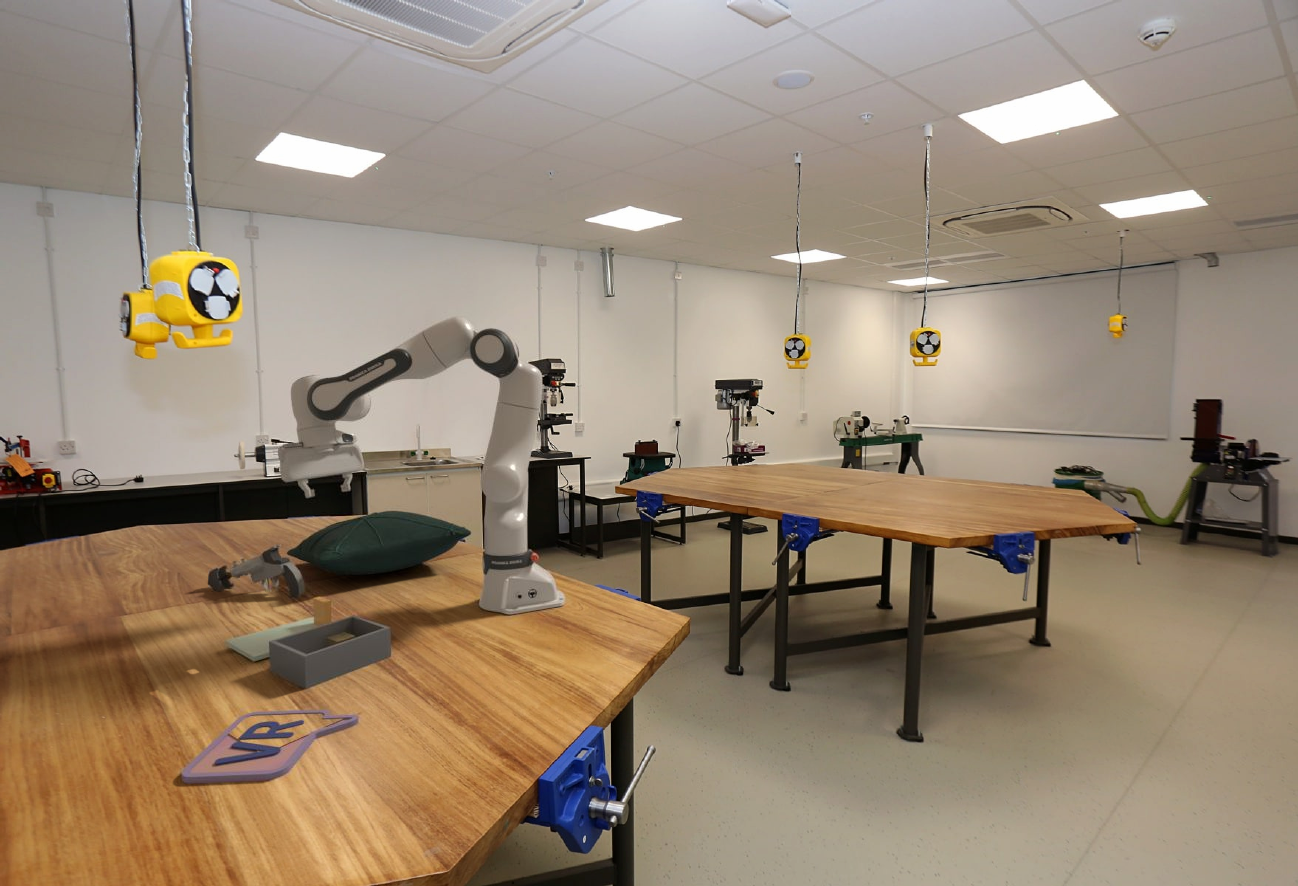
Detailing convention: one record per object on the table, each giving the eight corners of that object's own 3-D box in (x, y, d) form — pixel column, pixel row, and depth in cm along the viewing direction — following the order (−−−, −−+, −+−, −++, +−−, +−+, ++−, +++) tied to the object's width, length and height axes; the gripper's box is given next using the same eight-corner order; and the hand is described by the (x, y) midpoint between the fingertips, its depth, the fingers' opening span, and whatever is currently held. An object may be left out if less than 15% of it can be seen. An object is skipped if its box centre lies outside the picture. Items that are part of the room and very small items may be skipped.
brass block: (345, 650, 139) (344, 631, 139) (356, 654, 137) (355, 635, 136) (327, 656, 136) (326, 637, 135) (337, 660, 133) (337, 642, 133)
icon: (319, 771, 95) (173, 777, 93) (319, 781, 95) (174, 787, 93) (365, 708, 114) (244, 712, 112) (365, 716, 114) (245, 720, 112)
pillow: (316, 523, 173) (279, 524, 206) (324, 592, 173) (285, 581, 206) (469, 500, 202) (415, 504, 235) (476, 559, 202) (421, 555, 235)
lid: (314, 626, 156) (313, 592, 155) (345, 640, 147) (344, 603, 147) (226, 651, 141) (224, 613, 140) (254, 668, 132) (252, 628, 132)
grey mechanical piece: (298, 596, 174) (276, 541, 174) (220, 627, 181) (199, 574, 181) (313, 590, 179) (292, 537, 180) (237, 621, 186) (217, 569, 187)
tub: (355, 646, 143) (354, 615, 143) (391, 660, 136) (390, 627, 135) (270, 676, 128) (268, 641, 128) (306, 693, 121) (304, 656, 120)
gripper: (283, 442, 154) (294, 499, 154) (362, 434, 171) (372, 486, 171) (269, 446, 157) (280, 502, 157) (348, 438, 174) (358, 489, 174)
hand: (328, 494), depth 164 cm, fingers open, 8 cm apart
